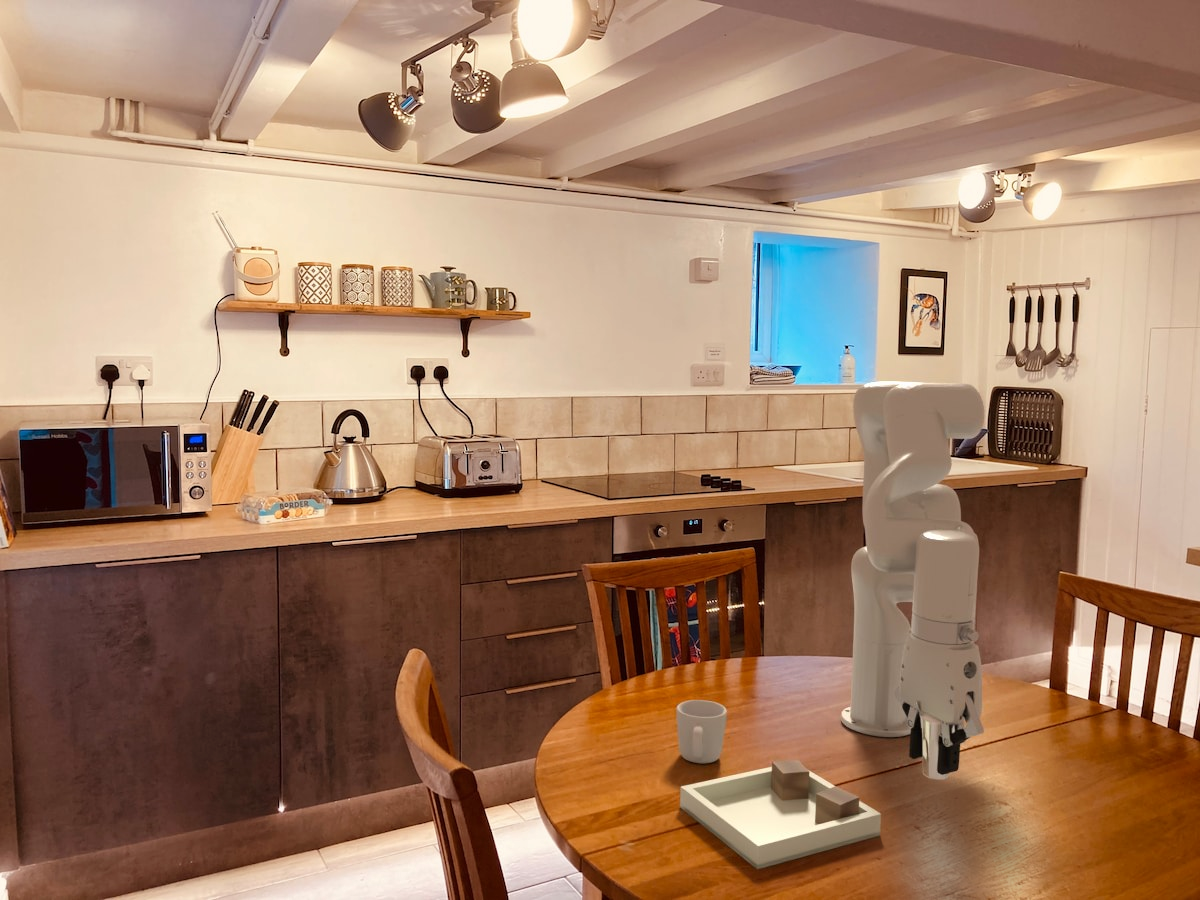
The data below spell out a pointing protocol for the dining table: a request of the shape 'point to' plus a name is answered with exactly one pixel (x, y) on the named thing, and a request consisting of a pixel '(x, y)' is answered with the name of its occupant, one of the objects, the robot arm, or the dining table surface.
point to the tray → (771, 818)
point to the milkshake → (931, 744)
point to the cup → (701, 730)
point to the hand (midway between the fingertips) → (933, 762)
